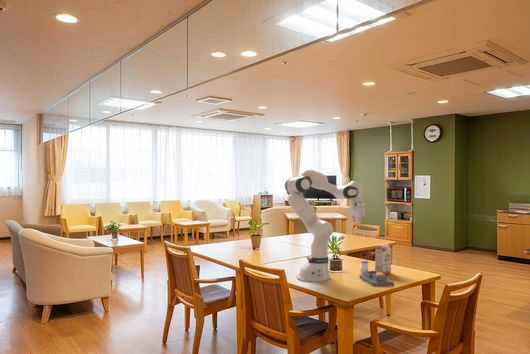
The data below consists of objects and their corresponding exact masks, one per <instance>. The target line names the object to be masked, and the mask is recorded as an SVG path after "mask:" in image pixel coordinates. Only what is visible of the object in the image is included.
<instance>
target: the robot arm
mask: <svg viewBox="0 0 530 354" xmlns="http://www.w3.org/2000/svg"><path fill="white" fill-rule="evenodd" d="M311 187H312V188H314V189H318V190H321V191H325V192H326V193H329V194H330V195H331V196H332V197H334V198H335V199H338V200H339V199H340V200H344V199H345V200H349V201H350V202H349V203H350V204H349V209H348V214H349V216H351V219H352V222H353V223H356V222H357V224H362V220H363V218H365V217H366V206H367V203H365V201H364V197H363V194H364V185H363V182H362V181H361V180H355V179H354V180H351V181H350V182H349V183H347V184H342V185H341V184H332V183H330V182H329V179H328V177H327V176H326V175H325V174H324V173H322V172H320V171H317V170H314V169H308V168H307V169H304V170H303V171H302V173H301V175H300V176H294V177H290V178H288V179H287V180H286V181H285V183H284V188H285V191H286V193H287V195H288V198H287V203H288V204H289V206H290V207H291V209H292V211H293V212H294V213H295V214H296V216H298V218H299V219H300V220H301V222H302V223H303V225H304V226H305V228H306V230H307V232H308V233H309V234H311V235H313V236H314V237H313V242H312V243H311V244H310V246H311V247H310V249H311V250H310V256H309V255H308V256H306V260H307V263H305V264H304V265H302V267H301V268H300V269H299V274H296V278H297V280H299V281H302V282H326V281H327V280H329V279H331V275H330V272H329V271H330V269H329V262H330V261H329V255H328V254H329V252H328V251H329V248H328V247H329V241H330V238H331V236H332V235H333V233H334V226H333V225H332V224H331V223H330V222H329V221H327V220H323V219H320V218H319V216H318V215H317V213H316V210H315V209H314V207H313V206H312V204H310V202H308V200H307V199H306V198H305V196H304V193H307V192H308V191H309V190H310V189H311ZM356 217H357V218H358V220H357V221H356Z"/></svg>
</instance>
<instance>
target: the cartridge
mask: <svg viewBox="0 0 530 354" xmlns="http://www.w3.org/2000/svg"><path fill="white" fill-rule="evenodd" d="M364 271H369V260H366V259H361V260H360V275H364Z"/></svg>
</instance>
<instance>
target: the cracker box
mask: <svg viewBox="0 0 530 354" xmlns="http://www.w3.org/2000/svg"><path fill="white" fill-rule="evenodd" d="M374 247H375V248H374V249H375V250H374V252H375V253H374V254H375V255H374V257H375V258H374V271H378V272H379V273H383V274H384V275H386V276H387V275H390V274H391V273H392V272H391V271H392V268H391V267H392V244H391V243H387V242H382V243H380V244H379V243H378V244H376V245H375V246H374Z"/></svg>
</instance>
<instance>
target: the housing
mask: <svg viewBox="0 0 530 354" xmlns="http://www.w3.org/2000/svg"><path fill="white" fill-rule="evenodd" d="M376 273H379V272H378V271H375V270H368V271H364V275H361V274H359V279H360V280H362V281H363V282H365V283H367V284H369V285H371V286H372V287H382V286H394V285H395V282H394V281H393V280H391V279H389V278H388V276H387V275H384V274H383V276H377V275H376Z"/></svg>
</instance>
